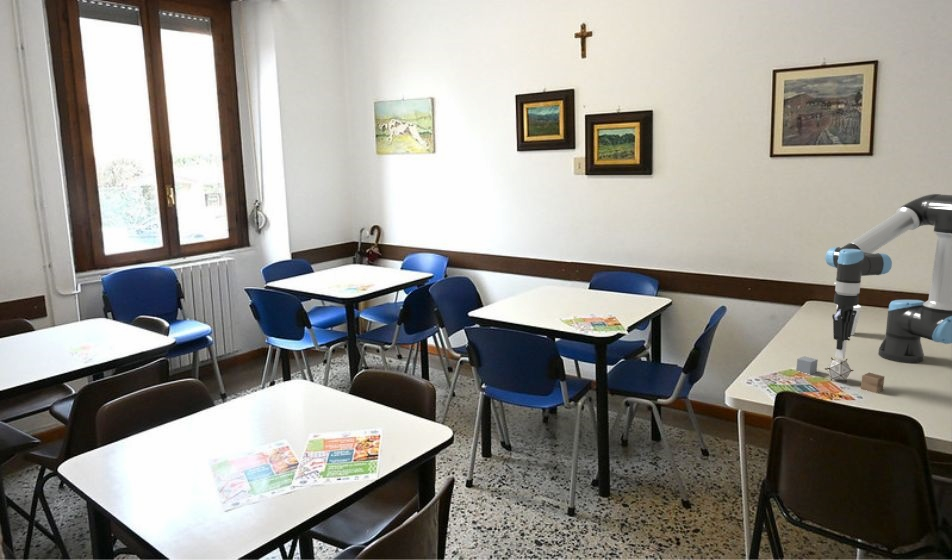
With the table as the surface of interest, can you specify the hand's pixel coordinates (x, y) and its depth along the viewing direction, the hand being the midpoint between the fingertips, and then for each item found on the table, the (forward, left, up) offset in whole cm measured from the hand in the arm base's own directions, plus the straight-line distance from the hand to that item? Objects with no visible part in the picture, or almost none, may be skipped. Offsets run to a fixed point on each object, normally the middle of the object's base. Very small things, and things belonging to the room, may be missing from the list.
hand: (839, 357), depth 235 cm
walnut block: (0, +12, -9) cm, 14 cm away
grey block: (0, -11, -9) cm, 14 cm away
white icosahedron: (0, 0, -9) cm, 9 cm away
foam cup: (-63, -27, -9) cm, 69 cm away
